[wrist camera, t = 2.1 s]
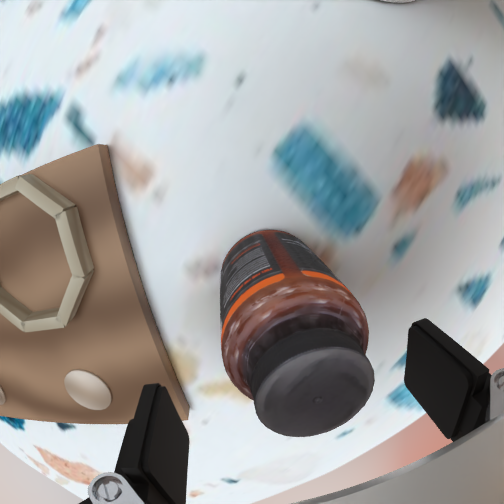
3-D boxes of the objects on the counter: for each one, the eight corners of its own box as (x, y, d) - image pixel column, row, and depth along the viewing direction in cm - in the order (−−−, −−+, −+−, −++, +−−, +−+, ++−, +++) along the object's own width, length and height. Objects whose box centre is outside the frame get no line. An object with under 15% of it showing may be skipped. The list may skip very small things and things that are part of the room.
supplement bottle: (207, 300, 20) (196, 440, 9) (239, 213, 18) (262, 290, 7) (291, 325, 21) (344, 457, 10) (328, 246, 19) (432, 339, 8)
